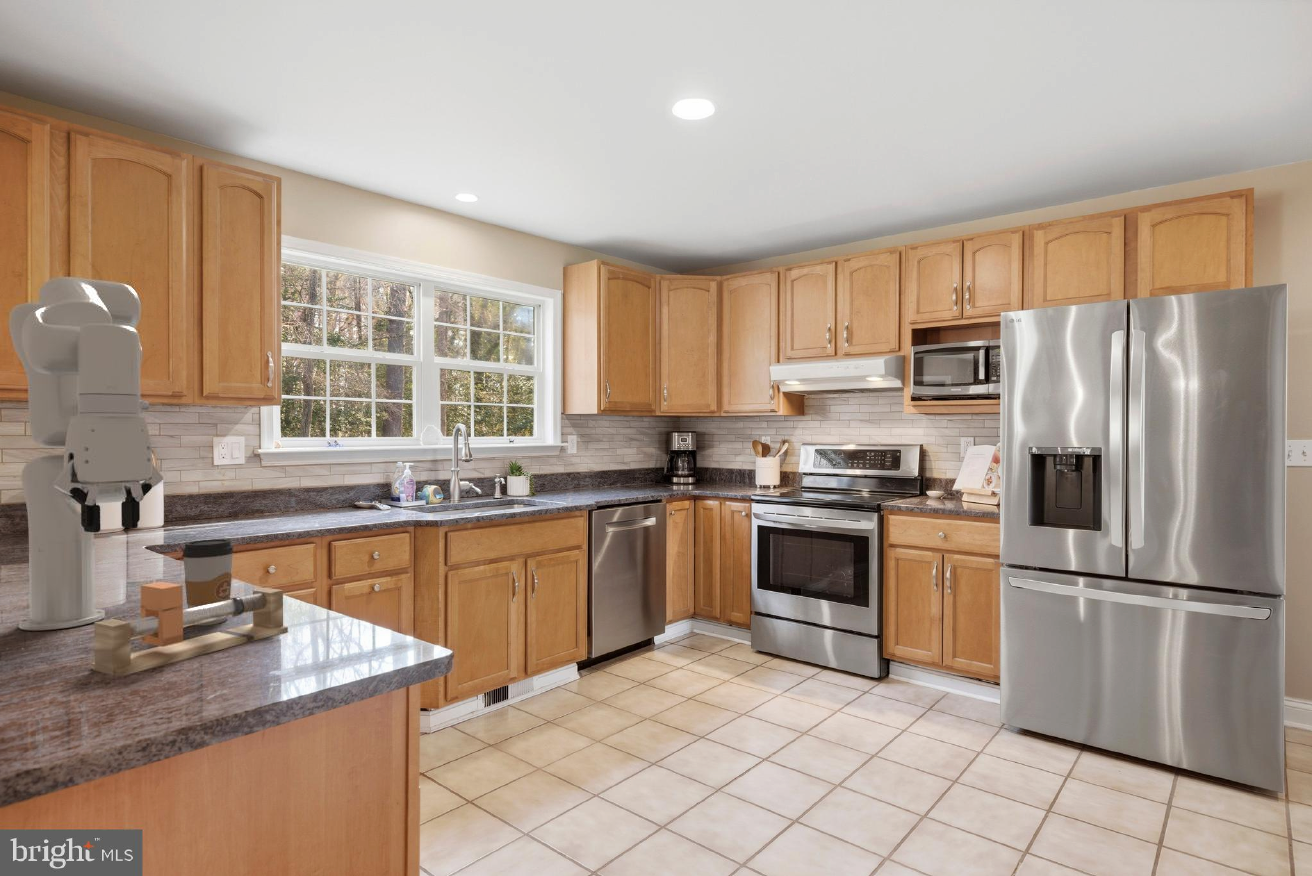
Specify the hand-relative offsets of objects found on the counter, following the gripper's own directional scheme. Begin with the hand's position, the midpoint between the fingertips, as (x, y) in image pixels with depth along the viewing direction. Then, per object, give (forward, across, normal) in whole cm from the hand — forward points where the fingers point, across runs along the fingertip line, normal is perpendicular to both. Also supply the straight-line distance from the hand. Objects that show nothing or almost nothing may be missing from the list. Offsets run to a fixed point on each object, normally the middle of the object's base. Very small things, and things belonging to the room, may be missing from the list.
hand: (111, 528), depth 110 cm
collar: (+19, -7, 0) cm, 20 cm away
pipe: (+17, -12, 0) cm, 21 cm away
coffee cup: (+22, -24, -16) cm, 36 cm away
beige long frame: (+21, -12, 0) cm, 25 cm away
